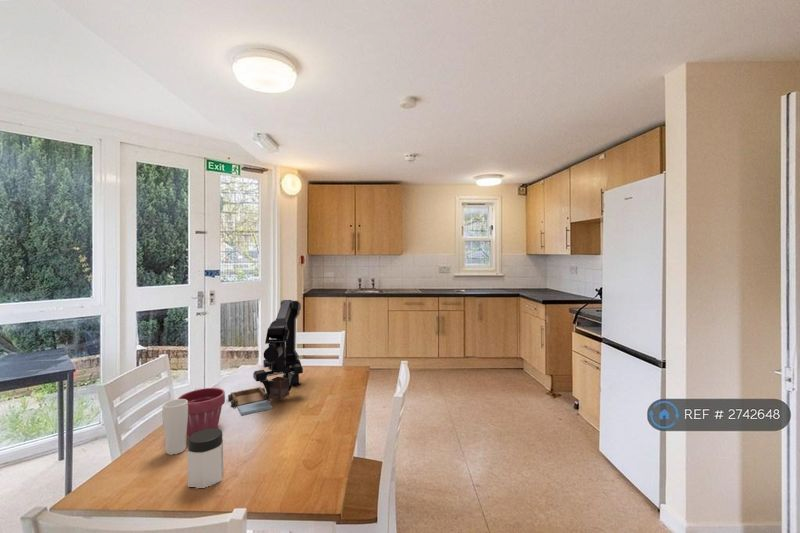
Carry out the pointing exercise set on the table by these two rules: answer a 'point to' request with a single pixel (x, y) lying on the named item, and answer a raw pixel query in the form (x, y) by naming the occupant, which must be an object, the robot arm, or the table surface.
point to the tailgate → (254, 407)
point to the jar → (205, 458)
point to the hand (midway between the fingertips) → (278, 392)
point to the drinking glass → (175, 425)
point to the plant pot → (203, 408)
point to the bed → (247, 397)
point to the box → (278, 388)
